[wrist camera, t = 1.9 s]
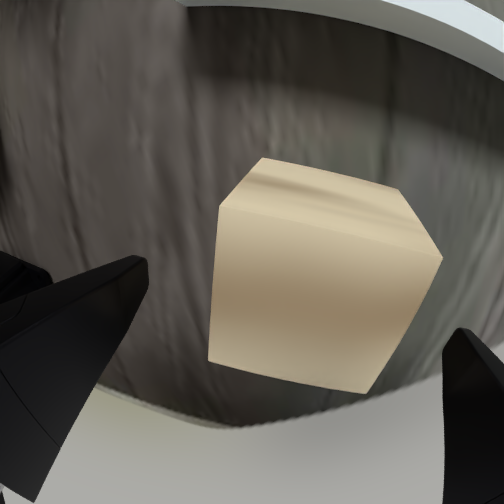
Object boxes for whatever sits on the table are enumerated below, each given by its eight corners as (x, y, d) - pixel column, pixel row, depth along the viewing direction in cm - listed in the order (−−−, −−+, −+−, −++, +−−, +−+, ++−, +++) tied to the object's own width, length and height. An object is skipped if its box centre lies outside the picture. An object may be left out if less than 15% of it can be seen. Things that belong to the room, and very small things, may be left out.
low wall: (541, 105, 7) (588, 117, 4) (186, 6, 8) (144, -14, 6) (544, 84, 6) (590, 91, 3) (190, -16, 8) (150, -41, 5)
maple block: (358, 298, 13) (366, 393, 8) (245, 273, 13) (208, 360, 9) (397, 188, 10) (442, 257, 6) (262, 156, 11) (219, 205, 6)
